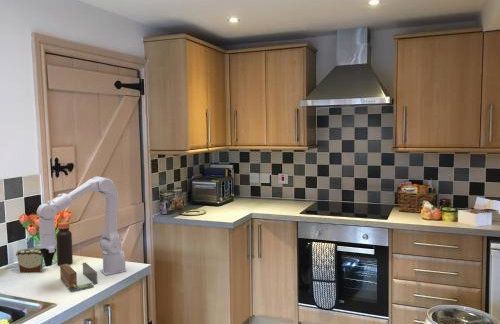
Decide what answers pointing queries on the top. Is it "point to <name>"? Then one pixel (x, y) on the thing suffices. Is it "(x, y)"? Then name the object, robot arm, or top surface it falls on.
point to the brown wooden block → (68, 275)
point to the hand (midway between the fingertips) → (48, 265)
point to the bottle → (64, 244)
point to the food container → (30, 260)
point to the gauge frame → (90, 274)
